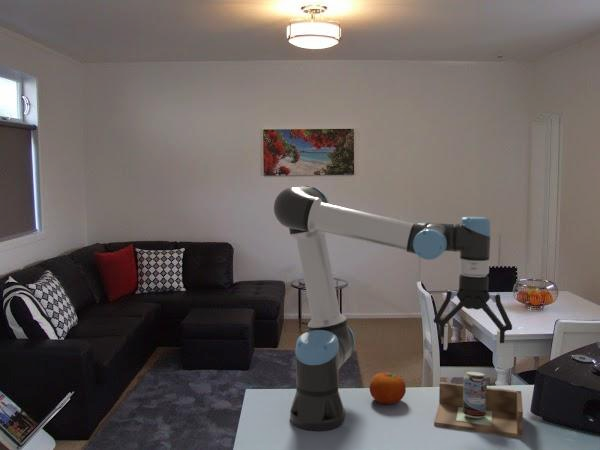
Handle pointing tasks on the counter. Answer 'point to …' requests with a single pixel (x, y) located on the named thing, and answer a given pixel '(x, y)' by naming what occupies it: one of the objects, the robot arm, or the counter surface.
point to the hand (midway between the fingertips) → (471, 351)
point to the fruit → (387, 388)
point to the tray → (499, 411)
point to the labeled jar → (474, 394)
